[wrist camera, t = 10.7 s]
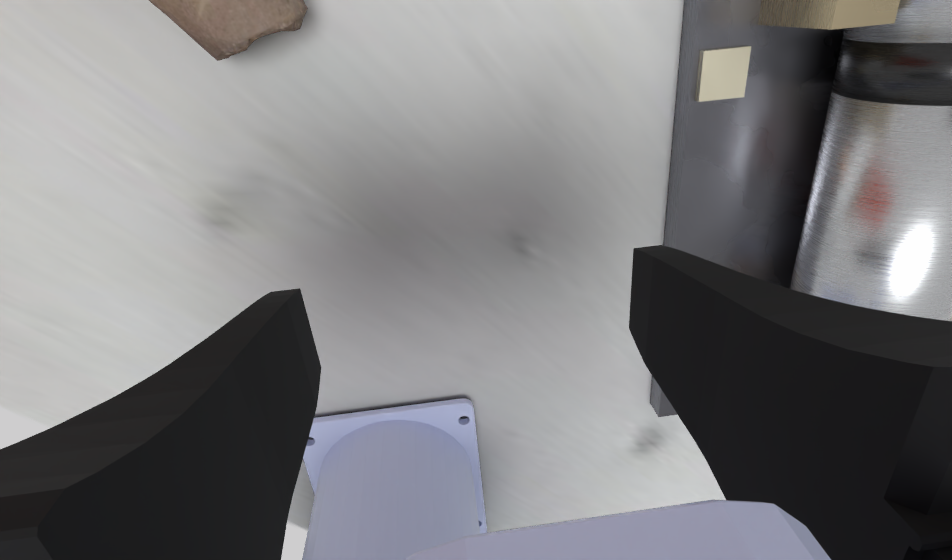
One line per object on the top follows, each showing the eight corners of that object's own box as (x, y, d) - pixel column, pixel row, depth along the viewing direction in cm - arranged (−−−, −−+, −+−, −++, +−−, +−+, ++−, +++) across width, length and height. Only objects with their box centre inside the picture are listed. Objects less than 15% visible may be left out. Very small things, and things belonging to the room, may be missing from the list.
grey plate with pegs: (925, 365, 27) (1014, 428, 23) (650, 402, 26) (693, 475, 22) (1141, -215, 17) (1371, -283, 13) (700, -180, 16) (796, -241, 12)
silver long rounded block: (866, 380, 25) (943, 474, 20) (749, 379, 25) (797, 470, 21) (1043, -181, 15) (1269, -258, 11) (851, -158, 16) (981, -220, 11)
